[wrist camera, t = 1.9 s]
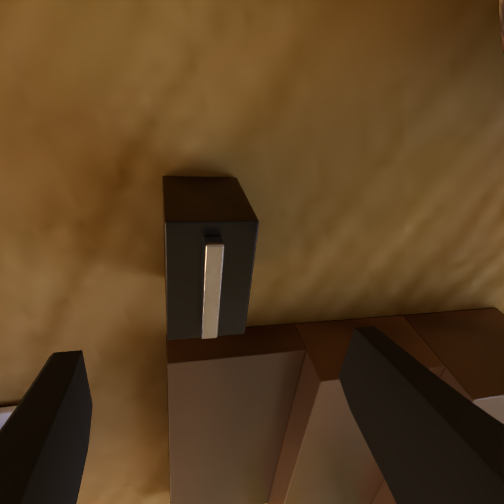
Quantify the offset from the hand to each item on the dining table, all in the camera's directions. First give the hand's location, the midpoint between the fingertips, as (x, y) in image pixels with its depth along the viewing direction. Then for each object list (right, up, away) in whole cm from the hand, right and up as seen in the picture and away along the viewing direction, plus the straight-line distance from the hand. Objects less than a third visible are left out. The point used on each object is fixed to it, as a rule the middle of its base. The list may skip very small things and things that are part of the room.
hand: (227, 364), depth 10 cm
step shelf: (+6, -8, +16) cm, 18 cm away
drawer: (-2, +4, +6) cm, 8 cm away
